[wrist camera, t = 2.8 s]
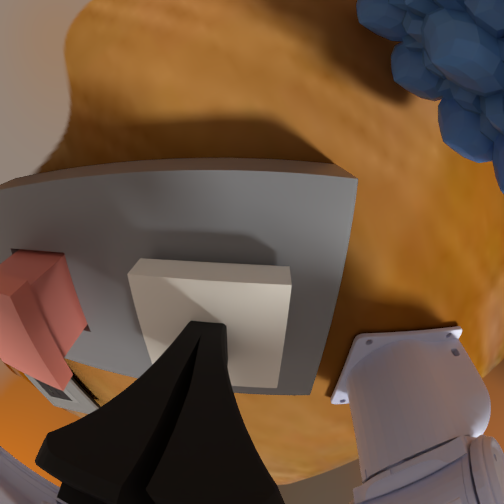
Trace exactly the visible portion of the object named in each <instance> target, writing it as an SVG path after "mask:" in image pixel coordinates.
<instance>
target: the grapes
mask: <svg viewBox="0 0 504 504" xmlns="http://www.w3.org/2000/svg"><path fill="white" fill-rule="evenodd" d="M356 9H357V17H358V21H359V23H360V24H362V25H363V26H364V27H366V28H367V29H369V30H370V31H372V32H374V33H375V34H377V35H379V36H381V37H384V38H386V39H389V40H391V41H400V43H398V44H397V45H395V46H394V49H393V51H392V54H391V70H392V74H393V79H394V81H395V82H396V83H397V84H399V85H400V86H402V87H403V88H404V89H406V90H407V91H409V92H411V93H413V94H415V95H416V96H418V97H420V98H423V99H427V100H432V101H437V100H440V99H442V100H441V102H440V103H439V105H438V123H439V127H440V132H441V136H442V139H443V142H445V143H446V144H447V145H448V146H449V147H450V148H451V149H453V150H454V151H456V152H457V153H459V154H460V155H461V156H463V157H464V158H467V159H470V160H472V161H475V162H477V163H481V162H488V161H493V166H494V171H495V177H496V179H497V182H498V185H499V187H500V190H501V191H502V193H503V194H504V0H357V3H356Z"/></svg>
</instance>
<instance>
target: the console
mask: <svg viewBox="0 0 504 504" xmlns="http://www.w3.org/2000/svg"><path fill="white" fill-rule="evenodd" d="M357 185H358V178H356V177H355V176H353V175H352V174H350V173H348V172H347V171H345V170H344V169H342V168H341V167H339V166H338V165H336V164H330V163H320V162H308V161H295V160H280V159H258V158H177V159H156V160H141V161H128V162H117V163H107V164H98V165H90V166H83V167H75V168H69V169H62V170H56V171H50V172H45V173H39V174H34V175H29V176H24V177H20V178H15V179H13V180H10V181H8V182H6V183H3V184H1V185H0V264H1V263H2V262H3V261H5V260H6V259H7V258H9V257H10V256H11V255H13V254H14V253H15V252H17V251H18V250H19V249H25V250H38V251H50V252H63V253H64V254H65V258H66V262H67V265H68V269H69V272H70V275H71V278H72V282H73V285H74V288H75V291H76V294H77V297H78V300H79V302H80V305H81V308H82V311H83V313H84V316H85V318H86V321H87V323H88V324H87V326H86V327H85V328H84V330H83V331H82V333H81V334H80V335H79V337H78V338H77V340H76V341H75V343H74V344H73V345H72V347H71V348H70V350H69V351H68V353H67V354H66V356H65V357H64V358H66V359H69V360H72V361H76V362H79V363H82V364H85V365H88V366H92V367H95V368H99V369H102V370H106V371H110V372H114V373H118V374H122V375H126V376H130V377H135V378H139V377H140V376H141V375H142V374H143V373H144V372H145V371H146V370H147V369H148V368H149V367H150V366H151V365H152V362H151V359H150V356H149V353H148V350H147V346H146V343H145V340H144V337H143V333H142V330H141V327H140V323H139V320H138V316H137V312H136V308H135V305H134V301H133V297H132V293H131V288H130V284H129V280H128V275H127V274H128V273H129V271H130V270H131V269H132V268H133V266H134V265H135V264H136V263H137V262H138V260H139V259H140V258H145V259H161V260H183V261H200V262H218V263H237V264H256V265H275V266H290V275H291V283H292V287H291V295H290V303H289V311H288V318H287V326H286V333H285V340H284V347H283V354H282V360H281V367H280V373H279V379H278V385H277V388H259V387H242V386H232V389H233V392H234V393H247V394H266V395H310V393H311V390H312V387H313V384H314V380H315V377H316V374H317V371H318V368H319V364H320V361H321V358H322V354H323V351H324V347H325V344H326V340H327V336H328V333H329V329H330V325H331V321H332V317H333V313H334V309H335V305H336V301H337V297H338V292H339V288H340V283H341V279H342V274H343V269H344V264H345V259H346V254H347V249H348V243H349V238H350V232H351V226H352V220H353V213H354V207H355V200H356V192H357Z"/></svg>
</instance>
